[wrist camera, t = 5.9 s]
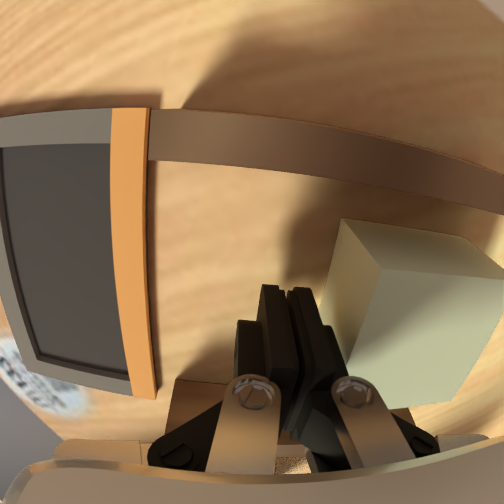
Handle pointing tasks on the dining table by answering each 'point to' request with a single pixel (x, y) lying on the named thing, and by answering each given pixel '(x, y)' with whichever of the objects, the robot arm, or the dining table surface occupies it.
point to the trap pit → (78, 246)
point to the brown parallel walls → (315, 164)
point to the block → (410, 309)
